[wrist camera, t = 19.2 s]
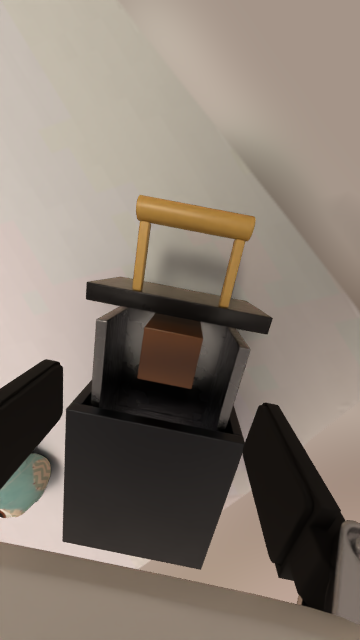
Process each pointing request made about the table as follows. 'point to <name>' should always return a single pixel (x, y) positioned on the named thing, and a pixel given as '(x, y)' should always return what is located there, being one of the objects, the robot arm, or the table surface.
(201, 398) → the drawer
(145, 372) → the block
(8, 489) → the stuffed animal
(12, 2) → the table surface
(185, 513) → the cabinet
